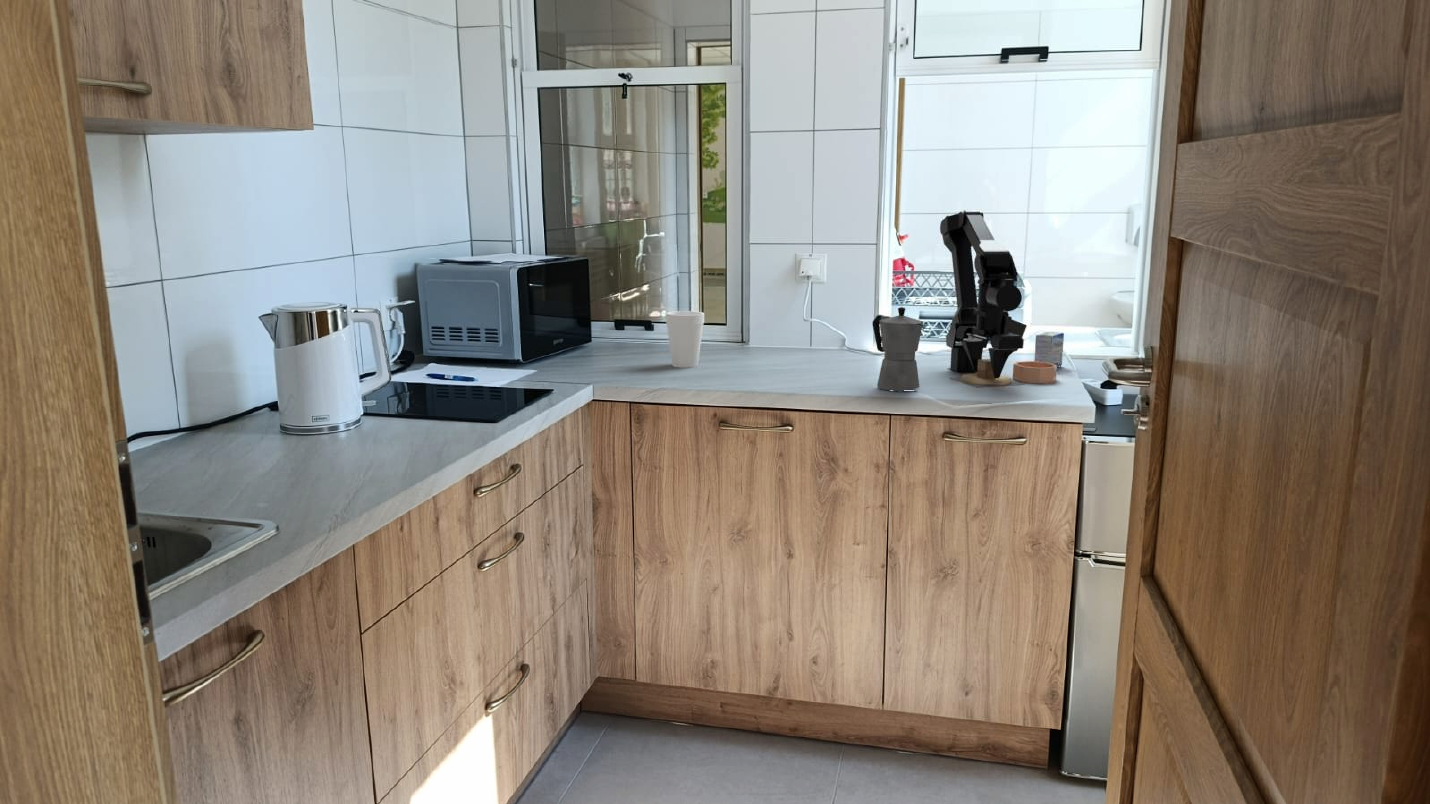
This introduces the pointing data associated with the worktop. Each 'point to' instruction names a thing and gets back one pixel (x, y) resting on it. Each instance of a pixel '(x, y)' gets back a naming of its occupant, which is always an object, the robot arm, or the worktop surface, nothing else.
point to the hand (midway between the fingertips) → (986, 374)
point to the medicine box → (1049, 348)
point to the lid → (985, 376)
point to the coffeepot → (898, 350)
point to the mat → (986, 386)
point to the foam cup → (685, 337)
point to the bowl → (1034, 372)
